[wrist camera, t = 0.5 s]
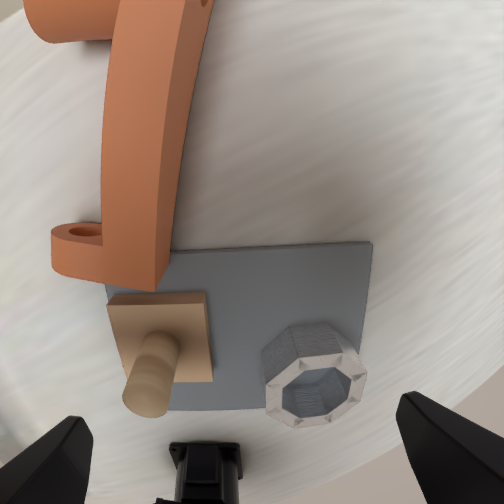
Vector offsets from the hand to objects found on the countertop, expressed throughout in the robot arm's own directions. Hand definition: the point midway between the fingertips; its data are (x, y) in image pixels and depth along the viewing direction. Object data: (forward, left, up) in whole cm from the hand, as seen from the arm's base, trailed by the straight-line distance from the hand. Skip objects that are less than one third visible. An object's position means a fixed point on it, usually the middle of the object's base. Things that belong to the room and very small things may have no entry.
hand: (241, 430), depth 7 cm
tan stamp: (-5, +5, -12) cm, 14 cm away
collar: (-8, -5, -12) cm, 15 cm away
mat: (-6, 0, -13) cm, 14 cm away
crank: (+11, +6, -13) cm, 18 cm away
